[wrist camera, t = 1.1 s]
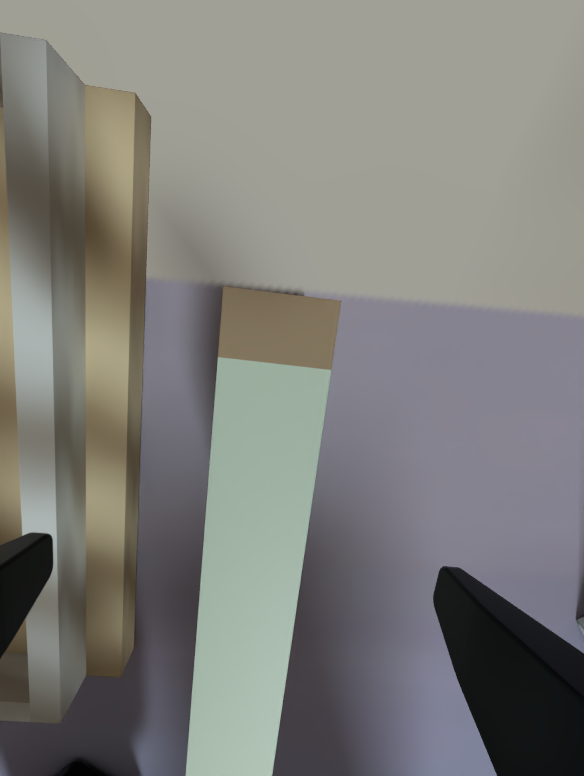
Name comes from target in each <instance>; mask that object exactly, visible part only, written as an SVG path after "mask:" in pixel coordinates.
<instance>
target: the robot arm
mask: <svg viewBox="0 0 584 776" xmlns="http://www.w3.org/2000/svg"><path fill="white" fill-rule="evenodd" d="M52 570H53V538H52V536H51V535H50V534H48V533H37V532H31V533H28V534H25V535H23V536H21V537H18V538H16V539H14V540H11V541H9V542H6V543H4V544H2V545H0V659H1V657H2V656H3V654H4V653H5V651H6V650H7V648H8V647H9V645H10V643H11V642H12V640H13V639H14V637H15V635H16V634H17V632H18V630H19V629H20V627H21V625H22V624H23V622H24V620H25V619H26V617H27V615H28V613H29V612H30V610H31V608H32V607H33V605H34V603H35V602H36V600H37V598H38V597H39V595H40V593H41V592H42V590H43V588H44V586H45V585H46V583H47V581H48V580H49V578H50V576H51V573H52ZM433 602H434V607H435V611H436V614H437V617H438V620H439V623H440V626H441V630H442V633H443V636H444V639H445V642H446V645H447V649H448V652H449V655H450V658H451V661H452V665H453V668H454V670H455V673H456V676H457V679H458V682H459V684H460V687H461V689H462V692H463V694H464V697H465V699H466V701H467V704H468V706H469V709H470V711H471V714H472V716H473V718H474V721H475V723H476V726H477V728H478V730H479V733H480V735H481V738H482V740H483V743H484V745H485V747H486V750H487V752H488V755H489V757H490V759H491V762H492V764H493V767H494V769H495V772H496V774H497V776H584V653H582V652H581V651H579V650H578V649H576V648H575V647H574V646H572V645H571V644H569V643H568V642H566V641H565V640H563V639H562V638H560V637H559V636H558V635H556V634H555V633H553V632H552V631H550V630H549V629H547V628H546V627H545V626H543V625H542V624H540V623H539V622H537V621H536V620H534V619H533V618H532V617H530V616H529V615H527V614H526V613H524V612H523V611H521V610H520V609H519V608H517V607H516V606H514V605H513V604H511V603H510V602H508V601H507V600H506V599H504V598H503V597H501V596H500V595H498V594H497V593H495V592H494V591H492V590H491V589H490V588H488V587H487V586H485V585H484V584H482V583H481V582H479V581H478V580H477V579H475V578H474V577H472V576H471V575H469V574H468V573H466V572H465V571H464V570H462V569H461V568H458V567H447V566H444V567H442V568H441V569H440V571H439V574H438V578H437V582H436V587H435V591H434V596H433ZM56 776H102V775H101V774H99V773H98V772H96V771H95V770H93V769H92V768H90V767H88V766H87V765H85V764H84V763H82V762H78V761H76V762H72V763H70V764H69V765H68V766H67V767H66V768H64V769H63V770H62V771H61V772H60V773H58V774H57V775H56Z"/></svg>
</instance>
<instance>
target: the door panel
mask: <svg viewBox="0 0 584 776" xmlns="http://www.w3.org/2000/svg"><path fill="white" fill-rule="evenodd" d="M340 306H341V301H338V300H330V299H322V298H314V297H306V296H298V295H290V294H282V293H275V292H267V291H259V290H251V289H243V288H235V287H227V286H223V298H222V311H221V324H220V337H219V350H218V363H217V376H216V389H215V402H214V415H213V428H212V441H211V454H210V467H209V480H208V493H207V506H206V519H205V532H204V544H203V557H202V570H201V583H200V596H199V609H198V622H197V635H196V648H195V661H194V674H193V687H192V700H191V713H190V726H189V739H188V752H187V765H186V776H272V772H273V766H274V759H275V752H276V745H277V738H278V731H279V724H280V718H281V711H282V704H283V697H284V690H285V683H286V677H287V670H288V663H289V656H290V649H291V642H292V635H293V629H294V622H295V615H296V608H297V601H298V594H299V587H300V581H301V574H302V567H303V560H304V553H305V546H306V539H307V533H308V526H309V519H310V512H311V505H312V498H313V491H314V485H315V478H316V471H317V464H318V457H319V450H320V443H321V437H322V430H323V423H324V416H325V409H326V402H327V395H328V389H329V382H330V375H331V368H332V361H333V354H334V347H335V341H336V334H337V327H338V320H339V313H340Z"/></svg>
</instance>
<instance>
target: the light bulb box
mask: <svg viewBox="0 0 584 776" xmlns="http://www.w3.org/2000/svg"><path fill="white" fill-rule="evenodd" d="M577 622H578V624H579V627H580V629H581V631H582V633H583V635H584V617H581V618H579V619H578V620H577Z"/></svg>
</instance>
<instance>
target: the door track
mask: <svg viewBox="0 0 584 776" xmlns="http://www.w3.org/2000/svg"><path fill="white" fill-rule="evenodd" d="M150 135H151V116H150V114H149V113H148V111H147V110H146V108H145V107H144V105H143V104H142V102H141V101H140V99H139V98H138V96H137V95H136V93H132V92H126V91H120V90H113V89H107V88H100V87H94V86H88V85H84V83H83V82H82V81H81V80H80V79H79V77H78V76H77V75H76V74H75V73H74V72H73V71H72V69H71V68H70V67H69V66H68V65H67V64H66V62H65V61H64V60H63V59H62V58H61V57H60V56H59V54H58V53H57V52H56V51H55V50H54V49H53V48H52V46H51V45H50V44H49V43H48V42H47V41H46V40H43V39H36V38H30V37H24V36H18V35H12V34H6V33H0V545H2V544H4V543H6V542H9V541H11V540H14V539H16V538H18V537H21V536H23V535H25V534H28V533H31V532H37V533H48V534H50V535H51V536H52V538H53V570H52V573H51V576H50V578H49V580H48V581H47V583H46V585H45V586H44V588H43V590H42V592H41V593H40V595H39V597H38V598H37V600H36V602H35V603H34V605H33V607H32V608H31V610H30V612H29V613H28V615H27V617H26V619H25V620H24V622H23V624H22V625H21V627H20V629H19V630H18V632H17V634H16V635H15V637H14V639H13V640H12V642H11V643H10V645H9V647H8V648H7V650H6V651H5V653H4V654H3V656H2V657H1V659H0V721H15V722H35V723H54V724H61V722H62V720H63V719H64V717H65V715H66V713H67V711H68V709H69V707H70V705H71V703H72V701H73V700H74V698H75V696H76V694H77V692H78V690H79V688H80V686H81V684H82V682H83V681H84V679H85V677H86V675H89V676H106V677H122V674H123V672H124V670H125V667H126V665H127V663H128V660H129V658H130V656H131V653H132V651H133V649H134V629H135V598H136V567H137V537H138V506H139V475H140V444H141V413H142V383H143V352H144V321H145V290H146V260H147V229H148V227H147V226H148V198H149V167H150Z"/></svg>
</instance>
